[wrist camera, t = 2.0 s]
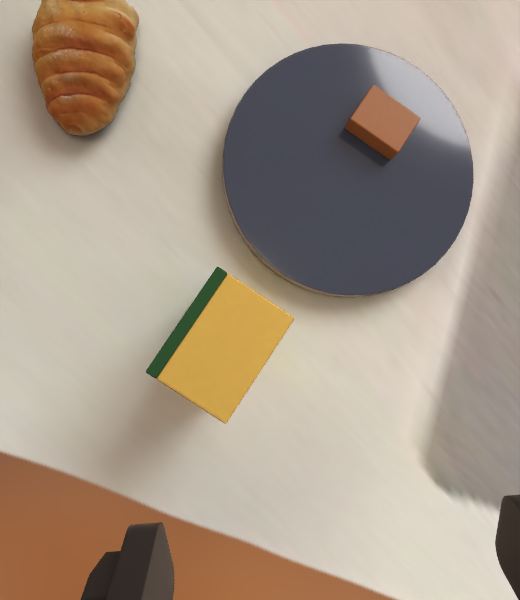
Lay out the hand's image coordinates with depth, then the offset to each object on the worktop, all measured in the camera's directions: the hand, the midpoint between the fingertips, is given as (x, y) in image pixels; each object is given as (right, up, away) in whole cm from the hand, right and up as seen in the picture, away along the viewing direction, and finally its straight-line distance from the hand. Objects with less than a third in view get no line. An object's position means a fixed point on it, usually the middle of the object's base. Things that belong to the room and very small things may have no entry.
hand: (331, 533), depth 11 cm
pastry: (-13, +22, +21) cm, 33 cm away
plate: (+5, +15, +22) cm, 27 cm away
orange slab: (+7, +18, +21) cm, 28 cm away
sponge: (-4, +3, +20) cm, 21 cm away
